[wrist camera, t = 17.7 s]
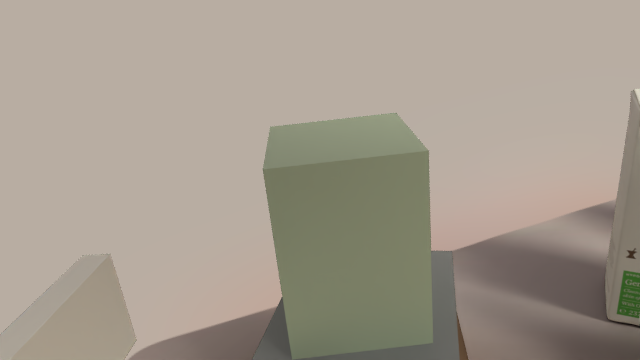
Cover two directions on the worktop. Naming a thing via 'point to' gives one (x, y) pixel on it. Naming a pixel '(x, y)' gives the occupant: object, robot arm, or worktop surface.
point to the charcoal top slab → (434, 356)
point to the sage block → (351, 234)
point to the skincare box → (626, 230)
